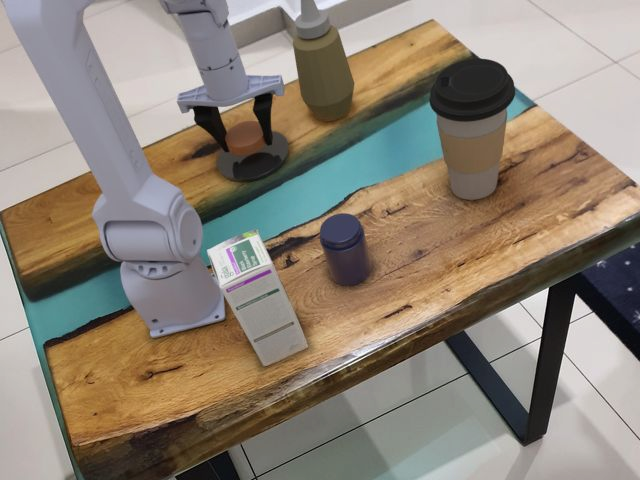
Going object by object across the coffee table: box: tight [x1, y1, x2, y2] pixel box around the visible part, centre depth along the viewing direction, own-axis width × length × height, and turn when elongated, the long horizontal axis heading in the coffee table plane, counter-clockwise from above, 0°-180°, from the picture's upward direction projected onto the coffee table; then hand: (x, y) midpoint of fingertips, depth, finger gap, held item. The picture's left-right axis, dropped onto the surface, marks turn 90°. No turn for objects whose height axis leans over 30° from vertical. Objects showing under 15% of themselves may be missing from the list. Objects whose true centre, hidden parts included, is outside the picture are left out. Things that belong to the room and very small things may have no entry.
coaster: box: [216, 130, 291, 183], centre depth 96 cm, size 11×11×1 cm
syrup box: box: [206, 228, 309, 367], centre depth 69 cm, size 6×6×14 cm
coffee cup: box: [428, 58, 516, 201], centre depth 77 cm, size 9×9×15 cm
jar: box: [319, 212, 373, 287], centre depth 76 cm, size 5×5×7 cm
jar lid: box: [225, 120, 266, 156], centre depth 93 cm, size 6×6×2 cm
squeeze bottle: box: [292, 0, 355, 122], centre depth 91 cm, size 8×8×18 cm
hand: (249, 144), depth 94 cm, fingers closed on jar lid, 6 cm apart
